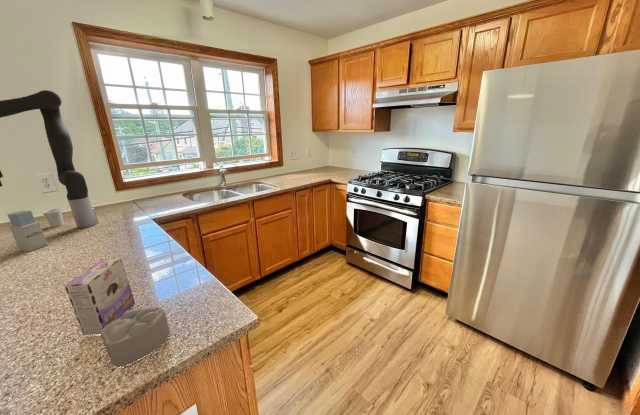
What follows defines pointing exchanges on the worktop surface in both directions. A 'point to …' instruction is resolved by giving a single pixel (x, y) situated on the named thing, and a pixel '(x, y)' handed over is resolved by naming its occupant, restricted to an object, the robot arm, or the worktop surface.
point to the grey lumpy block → (135, 335)
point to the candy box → (100, 295)
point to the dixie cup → (54, 217)
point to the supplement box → (29, 237)
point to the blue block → (21, 218)
